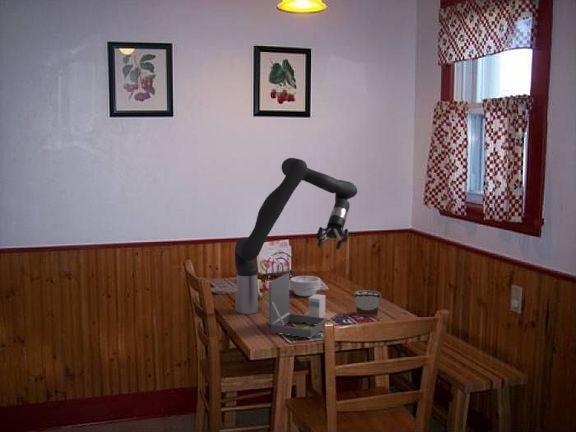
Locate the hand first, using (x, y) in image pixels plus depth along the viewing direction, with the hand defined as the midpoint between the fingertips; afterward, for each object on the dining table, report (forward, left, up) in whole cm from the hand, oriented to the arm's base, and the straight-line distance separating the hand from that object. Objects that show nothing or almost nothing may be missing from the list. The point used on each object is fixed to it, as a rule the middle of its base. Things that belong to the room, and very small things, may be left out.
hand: (328, 248), depth 294 cm
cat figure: (-42, +11, -29) cm, 53 cm away
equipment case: (0, -32, -29) cm, 43 cm away
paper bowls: (-20, +20, -29) cm, 41 cm away
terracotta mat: (0, -13, -29) cm, 32 cm away
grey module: (0, -13, -28) cm, 31 cm away
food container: (+18, +2, -29) cm, 34 cm away
